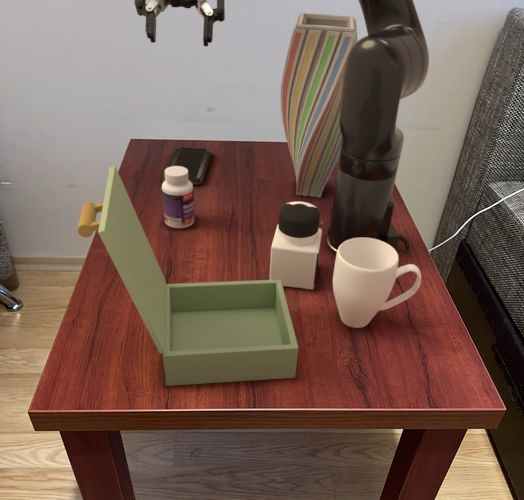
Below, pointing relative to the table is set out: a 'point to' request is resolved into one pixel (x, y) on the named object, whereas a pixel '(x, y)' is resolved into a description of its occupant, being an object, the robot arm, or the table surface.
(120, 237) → the green box lid
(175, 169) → the pill bottle
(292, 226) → the medicine bottle
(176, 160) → the phone
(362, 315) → the mug
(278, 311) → the green open box
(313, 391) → the table surface
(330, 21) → the vase
